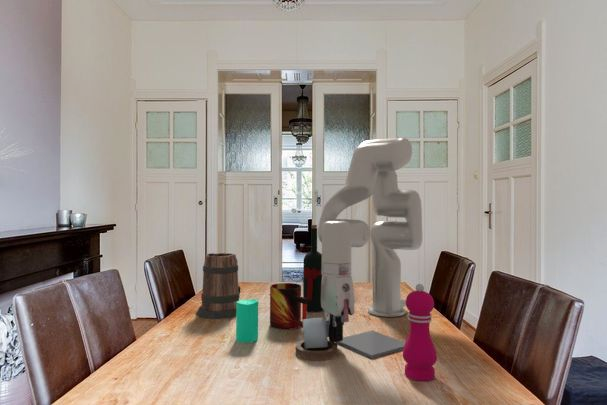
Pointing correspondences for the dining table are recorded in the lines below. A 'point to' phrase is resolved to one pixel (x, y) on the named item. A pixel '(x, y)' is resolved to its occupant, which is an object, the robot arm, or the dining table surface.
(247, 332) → the candle
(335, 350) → the stand
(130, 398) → the dining table surface
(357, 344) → the tile
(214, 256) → the tankard
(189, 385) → the dining table surface
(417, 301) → the pepper mill
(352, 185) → the robot arm
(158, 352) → the dining table surface
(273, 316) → the mug
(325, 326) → the jug
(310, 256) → the wine bottle
